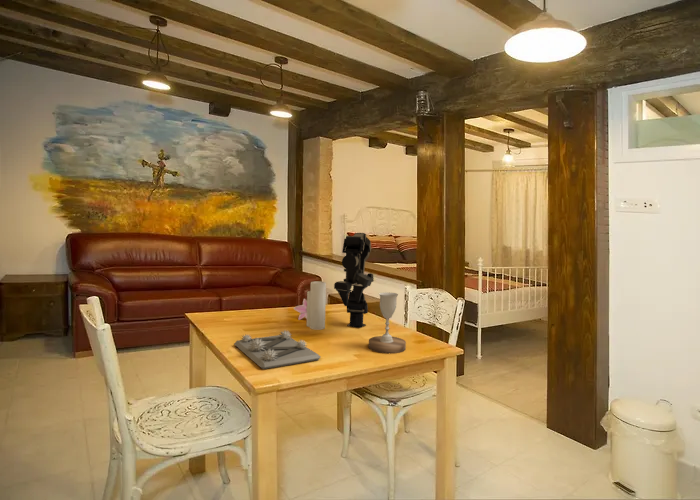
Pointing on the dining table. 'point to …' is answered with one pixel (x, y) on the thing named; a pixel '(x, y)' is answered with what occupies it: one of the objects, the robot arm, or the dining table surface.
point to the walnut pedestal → (387, 345)
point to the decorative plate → (276, 350)
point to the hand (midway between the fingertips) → (351, 304)
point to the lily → (302, 309)
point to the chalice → (387, 312)
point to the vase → (316, 305)
